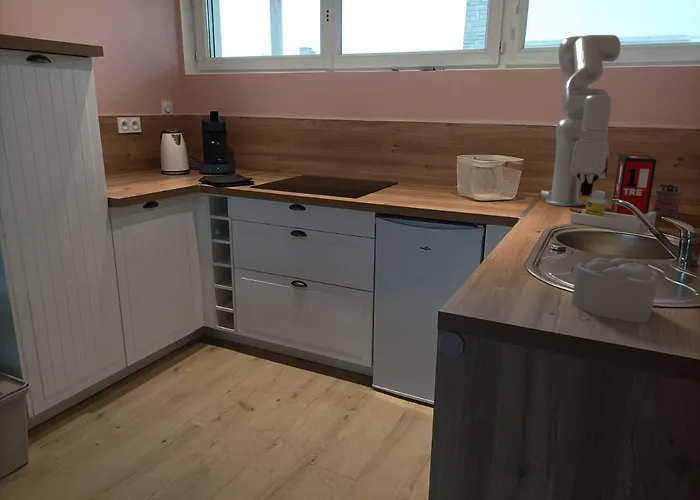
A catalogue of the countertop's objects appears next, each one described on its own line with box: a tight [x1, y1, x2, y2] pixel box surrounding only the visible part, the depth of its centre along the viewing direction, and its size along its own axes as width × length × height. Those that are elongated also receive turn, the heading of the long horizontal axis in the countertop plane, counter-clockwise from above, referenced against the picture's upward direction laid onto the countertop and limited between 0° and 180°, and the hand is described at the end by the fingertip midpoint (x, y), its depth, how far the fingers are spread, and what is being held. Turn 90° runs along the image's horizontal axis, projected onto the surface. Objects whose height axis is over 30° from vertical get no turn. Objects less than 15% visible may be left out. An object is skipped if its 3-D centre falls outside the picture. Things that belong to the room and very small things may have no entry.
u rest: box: [569, 208, 658, 234], centre depth 168 cm, size 22×10×5 cm, turn 48°
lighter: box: [652, 183, 683, 215], centre depth 191 cm, size 8×3×10 cm, turn 58°
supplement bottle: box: [585, 189, 607, 217], centre depth 171 cm, size 5×5×10 cm
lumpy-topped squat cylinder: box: [571, 257, 659, 323], centre depth 97 cm, size 10×13×9 cm
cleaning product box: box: [611, 154, 657, 216], centre depth 181 cm, size 16×9×20 cm, turn 160°
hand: (585, 195), depth 172 cm, fingers closed
